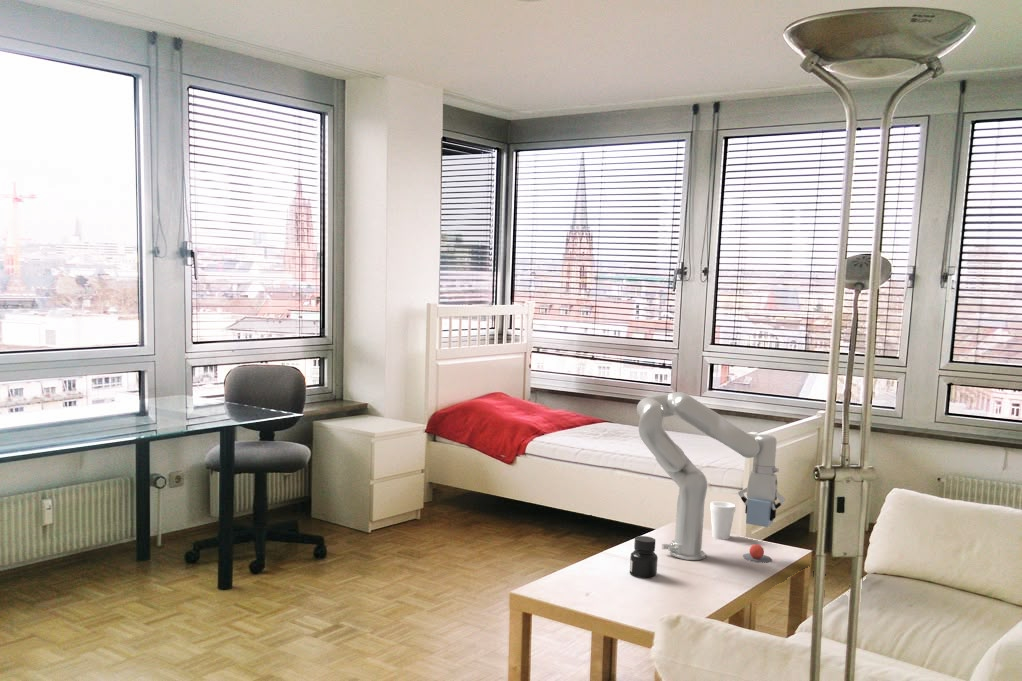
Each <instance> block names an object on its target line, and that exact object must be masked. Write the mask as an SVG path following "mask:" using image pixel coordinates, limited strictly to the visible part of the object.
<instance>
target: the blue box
mask: <svg viewBox="0 0 1022 681" xmlns="http://www.w3.org/2000/svg"><path fill="white" fill-rule="evenodd" d="M747 499H748V498H747ZM771 509H772V507H771V502H769V501H763V500H757V499H751V498H749V499H748V502H747V513H746V514H747V516H746V517H745V518H746V519H745V520H746V521H745V523H746V524H748V525H753V526H759V527H762V528H763V527H764V528H769V527H770V526H771V525H773V523H774V520H772V521H770V512H771Z"/></svg>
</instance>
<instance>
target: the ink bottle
mask: <svg viewBox="0 0 1022 681" xmlns="http://www.w3.org/2000/svg"><path fill="white" fill-rule="evenodd" d="M633 547H634V550H633V551H631V554H630V557H629V558H630V560H629V574H630V575H632V576H633V577H636V578H641V579H652V578H654V577H657V573H658V555H657V554H656V553H655V551H656V550H655V549H656V539H655V538H653V537H650V536H646V535H638V536H636V537H634V545H633Z"/></svg>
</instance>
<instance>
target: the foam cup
mask: <svg viewBox="0 0 1022 681" xmlns="http://www.w3.org/2000/svg"><path fill="white" fill-rule="evenodd" d="M709 506H710V507H709V509H710V520H711V535H712V536H711V537H712V538H714V539H716V538H717V539H716V540H722V539H726V540H729V539H730V537H731V536H730V535H731V530H732V526H733V521H734V516H735V513H736V505H735V504H734V503H732V502H728V501H720V500H719V501H718V500H717V501H715V500H713V501H711V502H710V504H709Z"/></svg>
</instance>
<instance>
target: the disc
mask: <svg viewBox="0 0 1022 681" xmlns="http://www.w3.org/2000/svg"><path fill="white" fill-rule="evenodd" d="M742 557H743V559H745V560H747V561H749V560H750V561H749V562H753V561H754V563H759V562H762V564H766V563H767V564H768V563H770V562H772V560H773V559H772V558H771V557H770V556H768V555H765V554H763V556H762V557H761V558H759V559H756V558H753V557H752V556H751V555H750V552H749V553H744V554H743V555H742ZM763 562H764V563H763ZM765 562H766V563H765Z"/></svg>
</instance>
